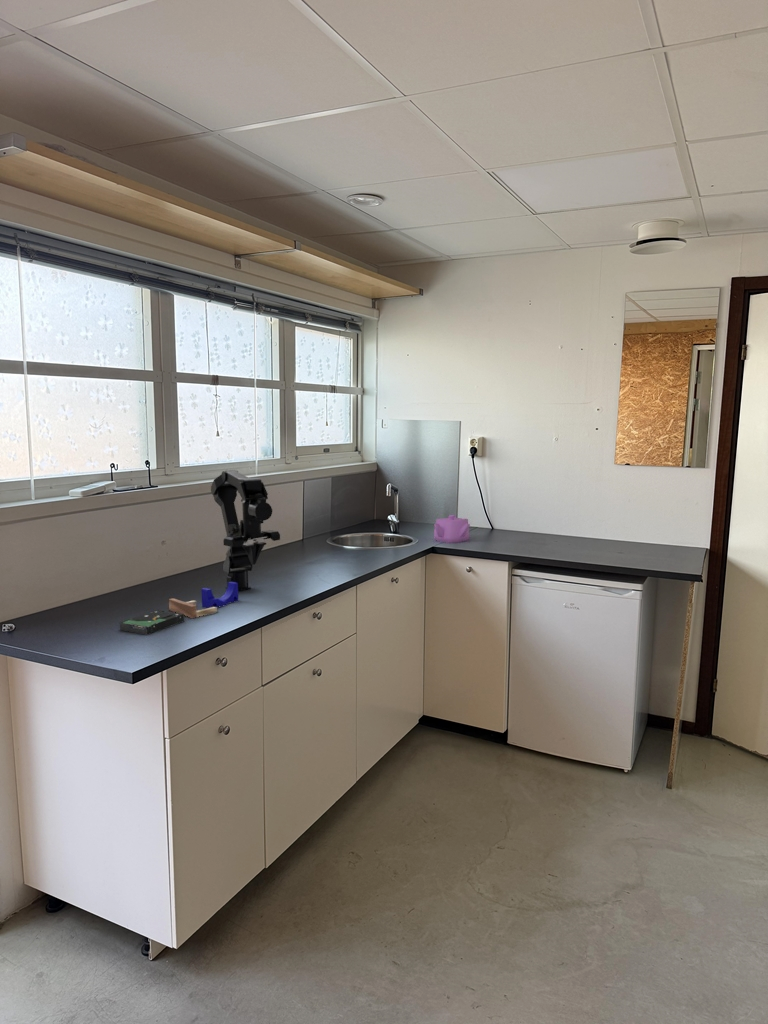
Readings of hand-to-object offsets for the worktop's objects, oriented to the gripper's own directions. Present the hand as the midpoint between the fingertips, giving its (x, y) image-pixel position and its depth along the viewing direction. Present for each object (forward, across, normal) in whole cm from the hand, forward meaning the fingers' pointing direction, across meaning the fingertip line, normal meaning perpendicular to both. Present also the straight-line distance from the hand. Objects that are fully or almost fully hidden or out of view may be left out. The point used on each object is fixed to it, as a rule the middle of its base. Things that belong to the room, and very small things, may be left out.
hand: (253, 564), depth 227 cm
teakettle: (+11, -130, -19) cm, 131 cm away
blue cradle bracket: (+11, +12, -1) cm, 16 cm away
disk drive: (+12, +38, +4) cm, 40 cm away
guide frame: (+11, +22, 0) cm, 25 cm away
